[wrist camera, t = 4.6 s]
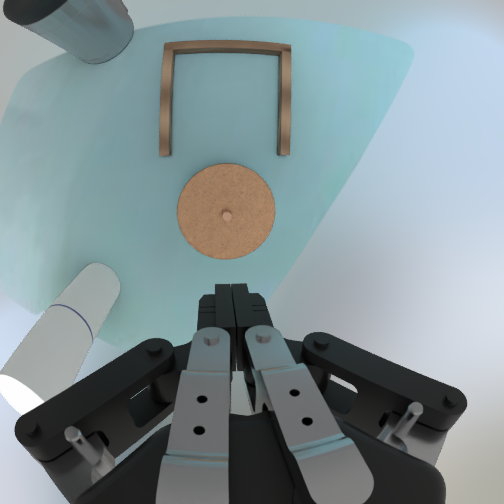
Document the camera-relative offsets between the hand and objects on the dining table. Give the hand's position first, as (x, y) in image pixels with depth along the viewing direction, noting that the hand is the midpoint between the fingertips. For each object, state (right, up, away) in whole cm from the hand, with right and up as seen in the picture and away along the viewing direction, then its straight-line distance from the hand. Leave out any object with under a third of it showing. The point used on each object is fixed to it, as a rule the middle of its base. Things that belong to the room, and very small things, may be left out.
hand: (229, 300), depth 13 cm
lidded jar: (-3, +9, +24) cm, 25 cm away
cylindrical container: (-23, -3, +25) cm, 34 cm away
